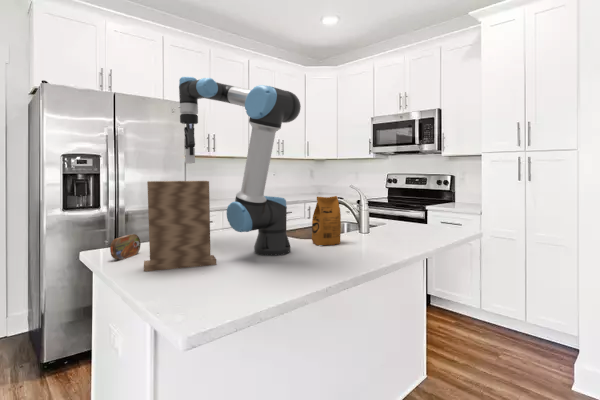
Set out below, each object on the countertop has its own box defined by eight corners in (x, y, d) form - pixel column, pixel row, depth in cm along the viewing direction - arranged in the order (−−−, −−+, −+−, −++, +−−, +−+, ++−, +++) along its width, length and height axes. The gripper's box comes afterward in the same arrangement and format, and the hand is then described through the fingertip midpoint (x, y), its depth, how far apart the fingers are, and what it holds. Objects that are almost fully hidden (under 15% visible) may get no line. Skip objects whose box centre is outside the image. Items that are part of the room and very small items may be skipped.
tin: (116, 262, 135) (115, 239, 134) (108, 261, 136) (107, 239, 135) (141, 253, 150) (140, 232, 149) (134, 252, 150) (134, 232, 150)
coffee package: (309, 242, 171) (309, 195, 169) (333, 240, 176) (333, 195, 174) (318, 246, 162) (318, 197, 160) (342, 244, 167) (343, 196, 165)
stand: (213, 260, 138) (212, 180, 135) (216, 264, 132) (214, 181, 129) (144, 266, 129) (141, 181, 127) (143, 271, 123) (140, 182, 120)
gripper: (178, 117, 170) (179, 163, 171) (181, 109, 146) (183, 162, 148) (194, 118, 172) (195, 163, 174) (201, 110, 149) (202, 162, 151)
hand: (190, 163), depth 161 cm, fingers open, 13 cm apart
